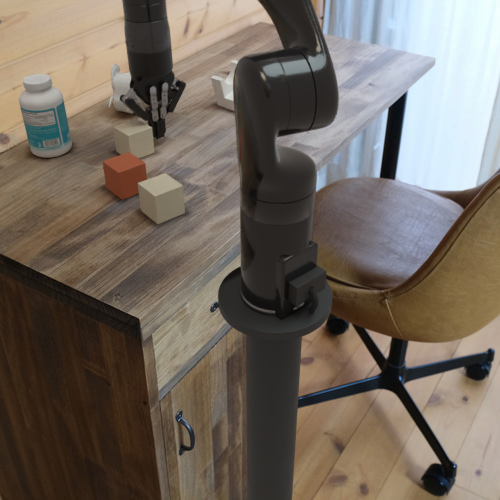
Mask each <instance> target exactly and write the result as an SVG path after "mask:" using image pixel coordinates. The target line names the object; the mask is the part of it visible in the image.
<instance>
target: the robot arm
mask: <svg viewBox="0 0 500 500" xmlns="http://www.w3.org/2000/svg"><path fill="white" fill-rule="evenodd" d="M256 1H257V2H258V3H259V4H260V5H261V6H262V8H263V9H264V11H265V12H266V14H267V15H268V16H269V19H270V20H271V22H272V24H273V26H274V28H275V30H276V33H277V35H278V37H279V40H280V43H281V46H282V48H281V49H274V50H267V51H260V52H256V53H249V54H245V55H244V56H242V57H240V58H239V60H237V61H238V63H237V65H236V68H235V71H234V77H233V101H234V111H233V112H234V123H235V140H236V141H235V142H236V144H235V145H236V159H237V165H238V172H239V231H240V232H239V236H240V238H239V239H240V242H239V243H240V266H241V288H240V294H241V298H242V301H243V302H244V304H245V305H246V306H247V307H248V308H250V309H251V310H253V311H255V312H257V313H260V314H263V315H268V316H275V317H277V318H279V319H280V320H283V319H285V318H287V317H288V316H290V315H292V314H293V313H295V312H297V311H299V310H300V309H302V308H303V307H305V306H307V305H308V304H310V303H312V302H313V303H312V305H311V307H310V308H309V310H308V311H309V313H314V311H315V310H316V309H317V307H318V296H317V293H319V292H321V291H322V290H324V289H325V285H326V281H327V270H326V269H324V268H323V267H321V266H319V265H318V257H319V243H318V242H317V241H316V240H314V228H315V227H314V226H315V225H314V224H315V211H316V197H317V196H316V195H317V183H318V167H317V165H316V162H315V160H313V158H312V157H311V156H310V155H309V154H306V152H303V151H301V150H299V149H296V148H293V147H290V146H284V145H279V144H277V138H281V137H287V136H293V135H297V134H303V133H308V132H311V131H317V130H320V129H324V128H327V127H329V126H331V125H332V124H333V123H334V122H335V119H336V118H337V115H338V112H339V107H340V92H339V91H340V90H339V84H338V78H337V72H336V70H335V66H334V65H335V64H334V62H333V59H332V56H331V53H330V49H329V46H328V44H327V41H326V38H325V35H324V32H323V29H322V26H321V24H320V21H319V17H318V14H317V12H316V9H315V6H314V3H313V0H256ZM121 2H122V9H123V19H124V25H123V26H124V27H123V30H124V42H125V47H126V56H127V64H128V70H129V73H130V74H131V81H130V90H129V91H128V92H127V94H126V95H121V96H120V101H121V102H122V103H124V104H125V105H126V106H127V107H128V108H129V109H130V110H131V111H133V112H134V113H133V114H134V115H136V116H137V117H138V118H140V119H142V120H143V121H145V122H147V125H149V126H150V127H152V131H153V139H156V140H160V139H162V138H164V137H165V134H166V133H167V126H166V125H167V123H166V117H167V115H168V114H170V113H173V112H174V111H175V109H176V107H177V105H178V104H179V101H180V99H181V97H182V96H183V94H184V91H185V89H186V87H187V83H186V82H185V81H183V80H182V79H179V78H177V77H176V76H175V73H174V71H173V70H174V69H173V68H174V61H173V49H172V37H171V28H170V22H169V18H168V17H169V16H168V8H167V7H168V6H167V0H121ZM136 95H137V96H138V97H139V98H140V99H141V100H142V104H143V106H144V109H145V111H144V110H143V109H142V108H141V107H140V106H139V105H137V104H136V103H137V102H138V101H137V98H136Z"/></svg>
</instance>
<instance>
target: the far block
mask: <svg viewBox="0 0 500 500" xmlns="http://www.w3.org/2000/svg"><path fill="white" fill-rule="evenodd" d="M112 129H113V131H112V132H113V137H114V144H115V151H116V152H117V153H118V154H119V155H122V154H125V153H128V152H129V153H131V154H132V155H134V156H136V157H137V158H139V159H142V158H144V157H148V156H149V155H152V154H155V152H156V151H155V141H154V137H153V131H152V127H150V126H149V125H148V123H146V122H143V121H142V120H140V119H138V118H133V119H131V120H128V121H126V122H121V123H119V124H115V125H113V126H112Z"/></svg>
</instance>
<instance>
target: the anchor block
mask: <svg viewBox="0 0 500 500" xmlns="http://www.w3.org/2000/svg"><path fill="white" fill-rule="evenodd" d="M102 168H103V175H104V180H105V187H106V188H105V189H107V190H108V191H110V192H111V193H112V194H114V195H115V196H116V197H118V198H119V199H121V201H123V200H125V199H128V198H131V197H134V196H136V195H139V190H138V183H139V182H142V181H145V180H148V176H147V175H148V174H147V164H146V162H144V161H143V160H142V159H141V158H137V157H136V156H134V155H132V154H131V153H129V152H128V153H125V154H122V155H121V154H119V155H117V156H114V157H111V158H108V159H105V160H102Z"/></svg>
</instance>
